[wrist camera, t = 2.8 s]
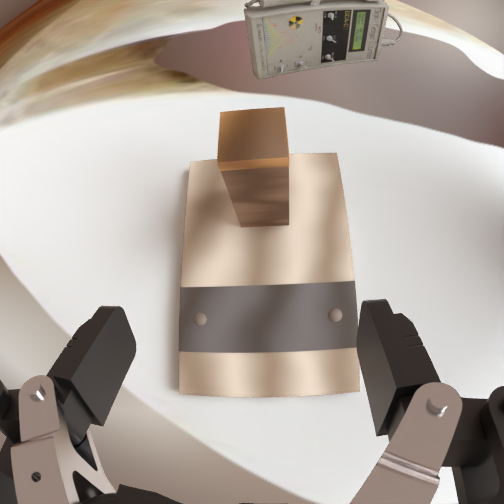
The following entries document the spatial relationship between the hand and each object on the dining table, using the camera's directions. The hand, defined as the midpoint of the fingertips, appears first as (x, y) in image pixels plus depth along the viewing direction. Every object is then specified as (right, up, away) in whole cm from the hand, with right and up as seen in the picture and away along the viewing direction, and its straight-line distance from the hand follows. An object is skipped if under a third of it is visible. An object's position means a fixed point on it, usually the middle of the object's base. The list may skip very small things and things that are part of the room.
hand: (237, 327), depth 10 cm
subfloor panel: (+2, +1, +20) cm, 20 cm away
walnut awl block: (+2, +7, +21) cm, 22 cm away
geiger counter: (+13, +32, +30) cm, 45 cm away
